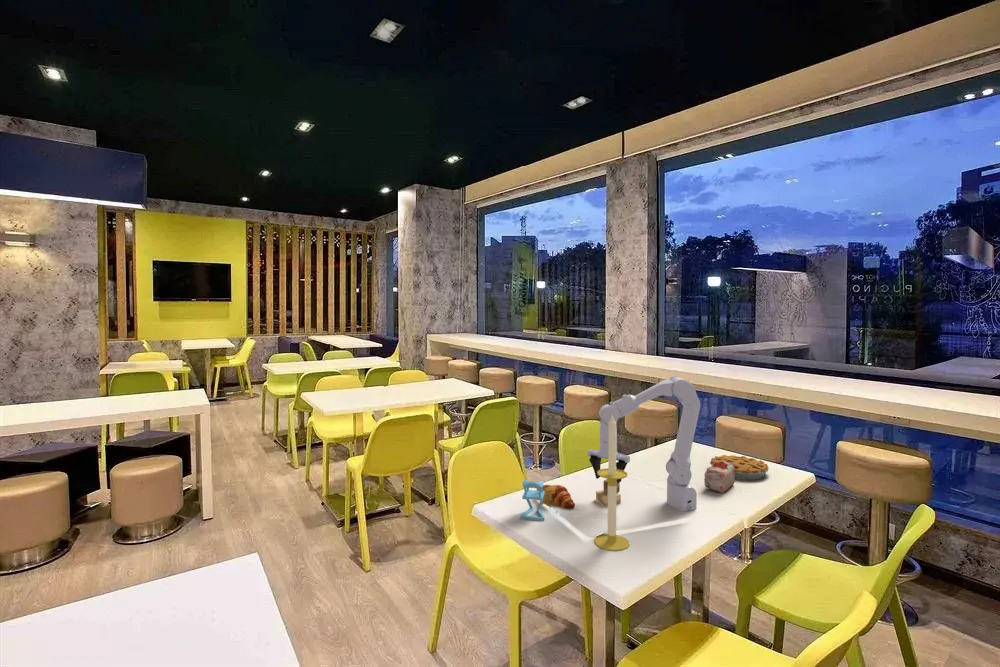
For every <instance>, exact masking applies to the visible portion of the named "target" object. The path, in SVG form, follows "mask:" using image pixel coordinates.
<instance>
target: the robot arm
mask: <svg viewBox="0 0 1000 667" xmlns="http://www.w3.org/2000/svg"><path fill="white" fill-rule="evenodd" d="M660 396H666V397H673V396H674V397H676V398H677V400H678V401H679V402H680V403H681V404H682V406H683V407H682V412H681V416H680V422H679V426H678V430H677V435H676V441H675V445H674V449H673V451H672V453H671V454H670V457H669V460H668V461H667V462H666V464H665V471H666V472H667V474H668V477H667V478H666V504H667V506H670V507H672V508H675V509H678V510H679V511H681V512H684V511H685V512H686V511H687V512H688V511H692V510H697V501H698V500H697V497H698V496H697V490H696V489H695V488H694V487H693V486H692V485H691V483H690V482H691V480H692V476H693V475H692V472H691V466H692V460H691V453H692V452H691V451H692V447H693V442H694V438H695V434H696V433H695V432H696V430H697V429H696V428H697V423H698V421H699V420H698V418H699V414H700V409H701V401H700V400H699V397H698V394H697V391H696V387H695V386H694V385H693V384H692V383H691V381H689V380H687V379H684V378H683V377H681V376H677V375H673V376H671V377H670V378H666V379H663V380H662V381H659V382H658V383H656V384H654V385H653V386H651V387H649V388H647V389H645V390H643V391H641V392H639V393H637V394H636V395H632V394H623V395H622V397H621V398H619V399H617V400H615V401H610V402H609V404H603V405H602V406H601V407H600V409H599V411H598V415H599V418H600V423H599V449H588V450H587V457H590V458H589V460H588V461H589V462H590V464H591V466H592V468H593V472H594V475H595V479H597V480H598V479H600V476H599V475H598V474H597V471H599V470H601V463H602V459H607V460H609V422H610V420H611V417H612V414H613V417H614V420H615V422H616V423H617V422H618V420H619V419H621V418H623V417H625V416H627V415H629V414H631V413H633V412H636V411H638V409H639V406H640V405H642V404H644V403H647V402H648V401H651V400H654V399H656V398H658V397H660ZM630 462H631V456H630V455H626V454H624V453H620V452H618V427H617V426H616V469H619V470H623V471H625V469H626V467H627V465H628V463H630ZM621 482H622V479H617V483H621Z"/></svg>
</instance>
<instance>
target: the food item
mask: <svg viewBox="0 0 1000 667" xmlns="http://www.w3.org/2000/svg"><path fill="white" fill-rule="evenodd" d="M713 464H714V466H713V467H712V466H711V467H710V466H709V467H707V468H706V471H705V472H704V478H703V480H704V487H705V488H706V489H707V490H710V491H713V492H716V493H719V494H724V493H725V492H726V491H727V490H728V489H729V488H730V487H732V486H733V485H734V484H735V481H736V480H735V479H736V478H735V475H734V473H735V472H734V470H735V469H734V466H733V465H732V464H730V463H727V462H717V463H716V462H715V461H713Z"/></svg>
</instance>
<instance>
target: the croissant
mask: <svg viewBox="0 0 1000 667" xmlns="http://www.w3.org/2000/svg"><path fill="white" fill-rule="evenodd" d="M536 491H539V489H536ZM543 491H545V494H544V498H543V502H542V504H545V505H546V506H547V507H552V505H554V506H555V507H560V508H563V509H568V510H574V509H575V506H576V503H575V502H574V500H573V499H572V496H571V493H570V492H569V491H568V489H567V487H566V486H564V485H560V484H544V485H543Z"/></svg>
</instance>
